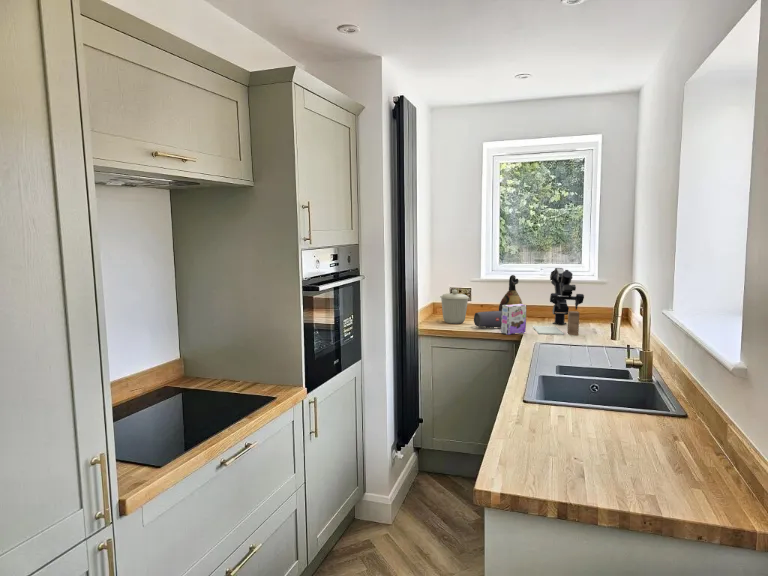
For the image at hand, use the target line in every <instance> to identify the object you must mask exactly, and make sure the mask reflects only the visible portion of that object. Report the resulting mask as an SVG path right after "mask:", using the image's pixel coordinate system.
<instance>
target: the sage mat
mask: <svg viewBox="0 0 768 576" xmlns="http://www.w3.org/2000/svg"><path fill="white" fill-rule="evenodd" d="M531 327H533V328H534V329H535V330H536V331H537V332H536V331H535V330H534V329H533V328H532V329H533V330H534V331H535V332H536V333H537V334H538V335H548V334H556V335H557V336H564V335H565V333H564V332H563V331H562V330H561V329H559V328H558V327H557V326H553V325H552V326H551V325H549V326H547V325H546V326H545V325H531ZM556 335H555V336H556Z"/></svg>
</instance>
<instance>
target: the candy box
mask: <svg viewBox="0 0 768 576" xmlns="http://www.w3.org/2000/svg"><path fill="white" fill-rule="evenodd" d="M526 326H527V305H526V304H513V305H502V318H501V328H500V333H501V334H503V335H516V334H515V333H519V334H525V333H524V332H526V331H527V329H526V328H527V327H526Z"/></svg>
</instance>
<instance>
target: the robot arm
mask: <svg viewBox="0 0 768 576" xmlns="http://www.w3.org/2000/svg"><path fill="white" fill-rule="evenodd" d="M572 279H573V273H572V271H569V269H564V268H563V267H555V268H554V270H552V271H551V272H550V275H549V280H550V281H551V280H552V281H551V284H552V285H553V286H554V292H551V293H550V296H549V303H552V304H554V305H553V307H552V314H553V315H554V321H553V322H552V324H553V325H559V326H560V325H561V326H562V325H566V324H567V322H565V319H566V318H565V317H566V316H568V311H570V309H569V308H570V307H569V305H568V303H567V301H574V306H575V310H576V311H577V310H578V306H579V305H581V304H582V303H583V302H584V299H585V295H584V293H576V295H575V296H574V295H573V292H574V291H576V289H577V286H576V285H577V284H571V282H572ZM572 295H573V296H572ZM565 315H566V316H565Z"/></svg>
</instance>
